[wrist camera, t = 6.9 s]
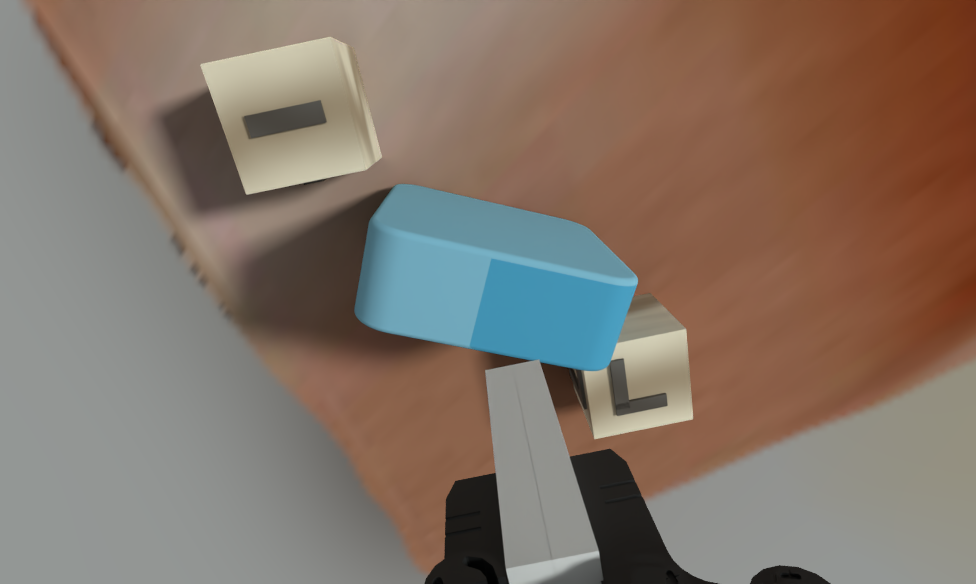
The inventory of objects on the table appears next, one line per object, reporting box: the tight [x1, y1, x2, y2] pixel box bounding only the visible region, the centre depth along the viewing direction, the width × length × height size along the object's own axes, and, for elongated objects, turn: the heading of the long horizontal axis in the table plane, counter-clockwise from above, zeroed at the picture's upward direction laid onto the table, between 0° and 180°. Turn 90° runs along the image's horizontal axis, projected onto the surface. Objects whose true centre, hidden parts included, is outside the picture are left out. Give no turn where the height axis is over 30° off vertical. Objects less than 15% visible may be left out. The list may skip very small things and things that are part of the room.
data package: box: [354, 184, 638, 371], centre depth 28 cm, size 12×4×12 cm, turn 76°
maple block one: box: [200, 37, 382, 195], centre depth 28 cm, size 6×6×6 cm
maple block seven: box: [569, 293, 693, 439], centre depth 34 cm, size 6×6×6 cm
